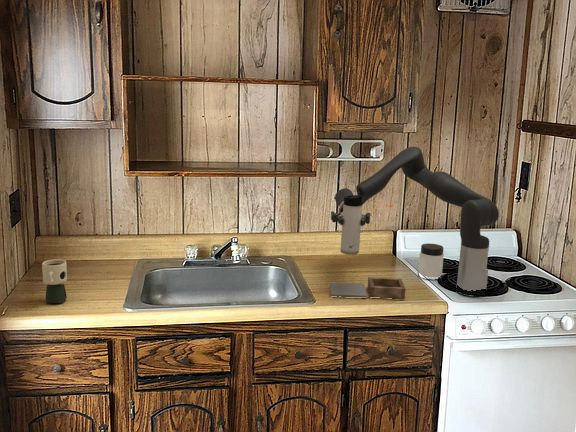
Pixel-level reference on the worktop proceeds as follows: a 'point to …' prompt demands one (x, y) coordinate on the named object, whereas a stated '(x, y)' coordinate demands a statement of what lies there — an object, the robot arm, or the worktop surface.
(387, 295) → the walnut holder
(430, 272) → the jar
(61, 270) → the character mug
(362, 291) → the cover plate
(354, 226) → the travel mug
